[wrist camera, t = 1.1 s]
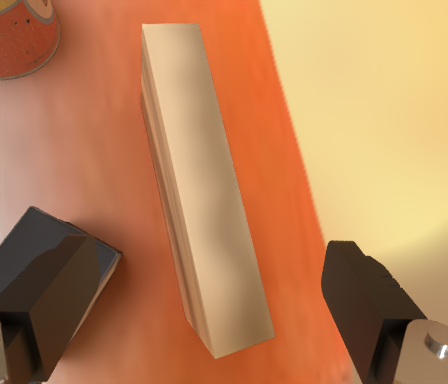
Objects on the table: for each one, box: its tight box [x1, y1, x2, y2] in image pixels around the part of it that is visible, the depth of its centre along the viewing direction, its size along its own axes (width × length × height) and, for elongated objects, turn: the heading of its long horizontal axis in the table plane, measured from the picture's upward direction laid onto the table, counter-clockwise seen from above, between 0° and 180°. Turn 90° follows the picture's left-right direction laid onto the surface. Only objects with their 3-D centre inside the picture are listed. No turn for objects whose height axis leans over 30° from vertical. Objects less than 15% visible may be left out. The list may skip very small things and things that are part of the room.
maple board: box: [141, 23, 275, 359], centre depth 26 cm, size 4×22×12 cm, turn 13°
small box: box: [0, 206, 123, 384], centre depth 22 cm, size 11×6×10 cm, turn 151°
